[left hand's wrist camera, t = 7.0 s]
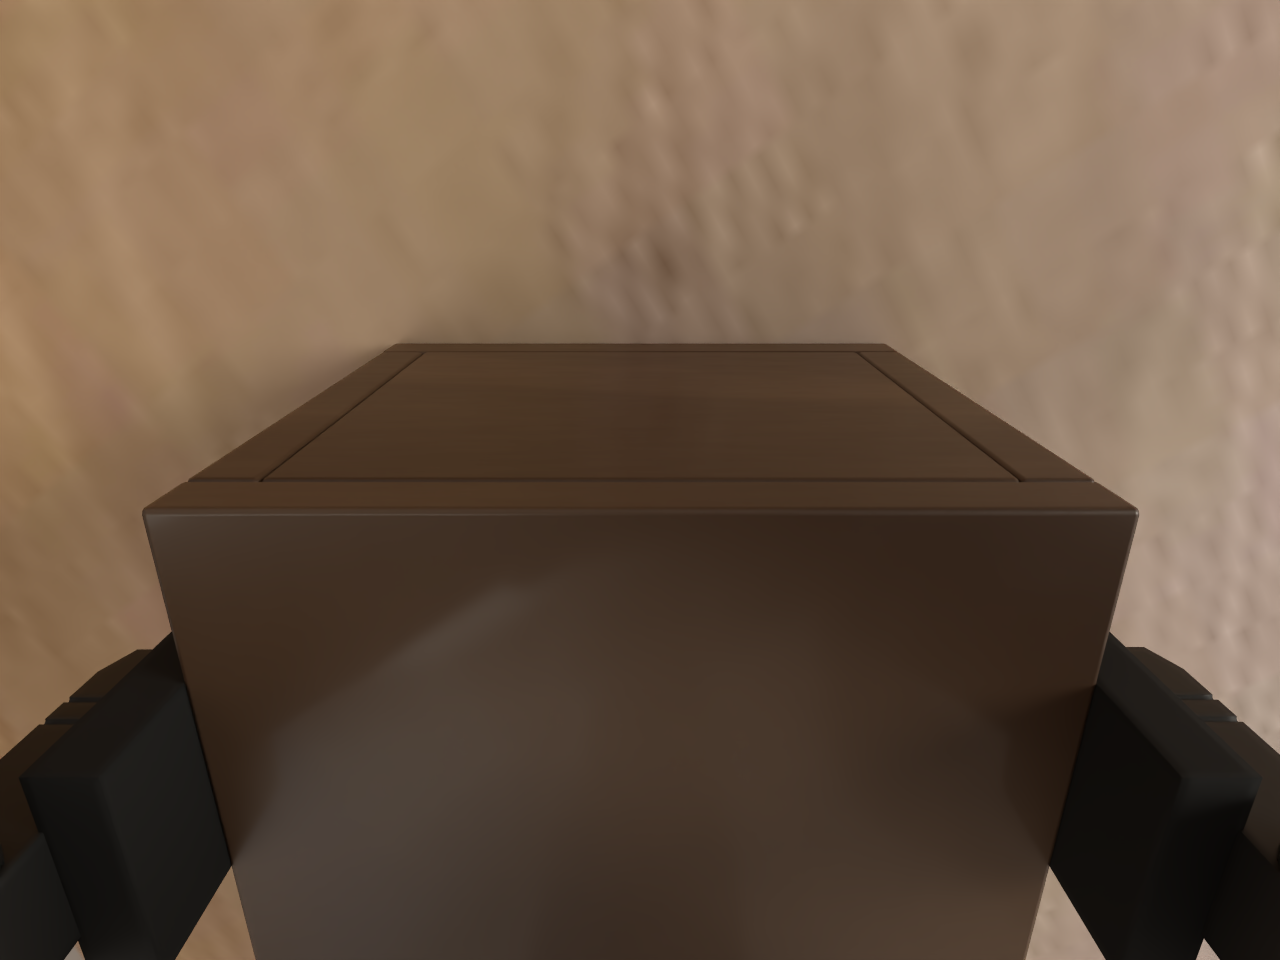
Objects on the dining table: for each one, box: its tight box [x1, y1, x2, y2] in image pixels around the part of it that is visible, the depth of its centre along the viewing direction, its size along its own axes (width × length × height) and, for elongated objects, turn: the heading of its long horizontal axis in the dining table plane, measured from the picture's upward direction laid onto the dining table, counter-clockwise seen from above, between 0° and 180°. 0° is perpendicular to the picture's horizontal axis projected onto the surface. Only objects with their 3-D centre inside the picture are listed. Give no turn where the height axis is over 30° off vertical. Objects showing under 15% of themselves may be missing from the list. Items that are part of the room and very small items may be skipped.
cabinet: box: [142, 344, 1139, 960], centre depth 15 cm, size 17×10×9 cm, turn 0°
